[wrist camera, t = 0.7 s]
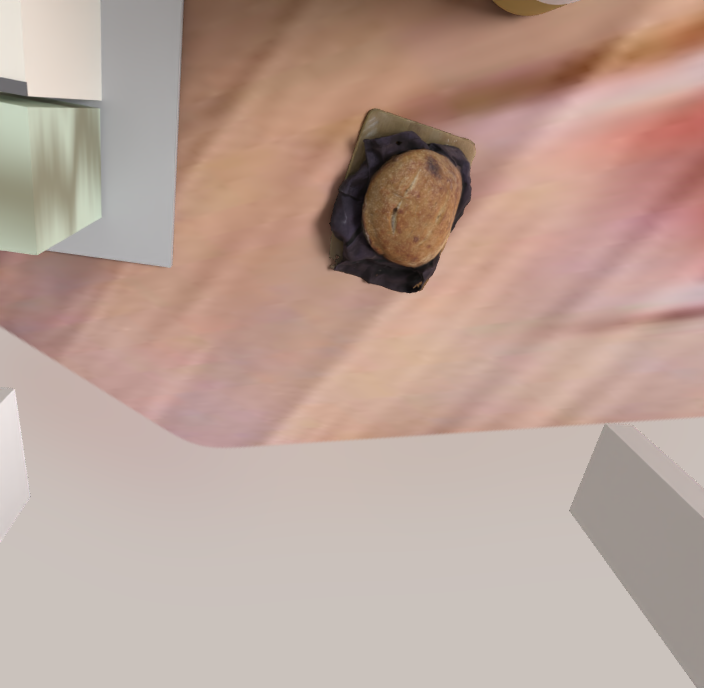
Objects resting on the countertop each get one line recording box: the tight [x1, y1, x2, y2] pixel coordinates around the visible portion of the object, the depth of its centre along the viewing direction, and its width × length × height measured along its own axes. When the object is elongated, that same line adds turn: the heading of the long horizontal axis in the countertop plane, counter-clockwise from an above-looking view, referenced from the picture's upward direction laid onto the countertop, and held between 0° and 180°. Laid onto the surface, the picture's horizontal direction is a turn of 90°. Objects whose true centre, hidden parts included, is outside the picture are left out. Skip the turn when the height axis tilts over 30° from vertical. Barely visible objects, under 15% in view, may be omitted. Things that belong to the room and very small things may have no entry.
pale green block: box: [0, 92, 102, 255], centre depth 24 cm, size 6×4×9 cm, turn 169°
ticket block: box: [0, 0, 184, 268], centre depth 22 cm, size 24×12×10 cm, turn 169°
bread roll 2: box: [329, 109, 476, 293], centre depth 32 cm, size 11×8×4 cm
